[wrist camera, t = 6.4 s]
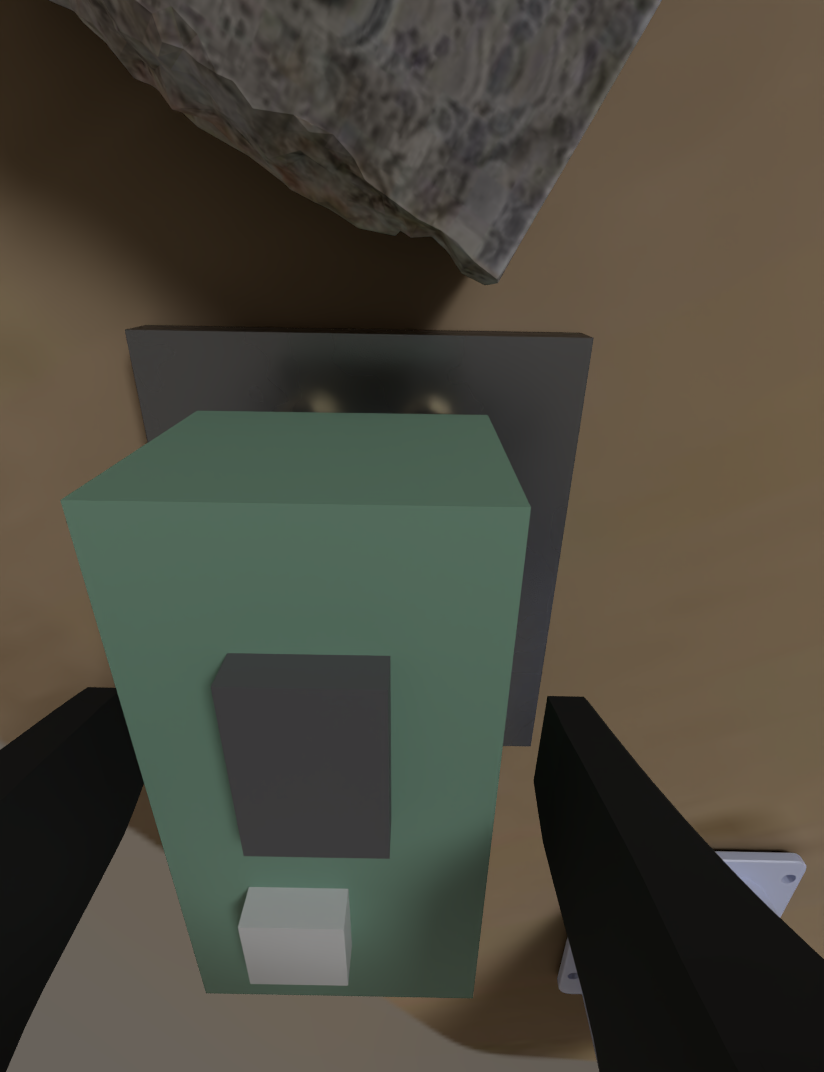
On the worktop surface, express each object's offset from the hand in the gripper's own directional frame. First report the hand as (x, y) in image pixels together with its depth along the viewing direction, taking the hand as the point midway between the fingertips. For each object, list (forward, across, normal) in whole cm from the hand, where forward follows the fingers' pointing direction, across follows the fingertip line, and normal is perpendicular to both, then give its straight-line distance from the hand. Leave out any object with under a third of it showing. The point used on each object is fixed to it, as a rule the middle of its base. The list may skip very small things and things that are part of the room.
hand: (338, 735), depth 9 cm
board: (+2, 0, 0) cm, 2 cm away
